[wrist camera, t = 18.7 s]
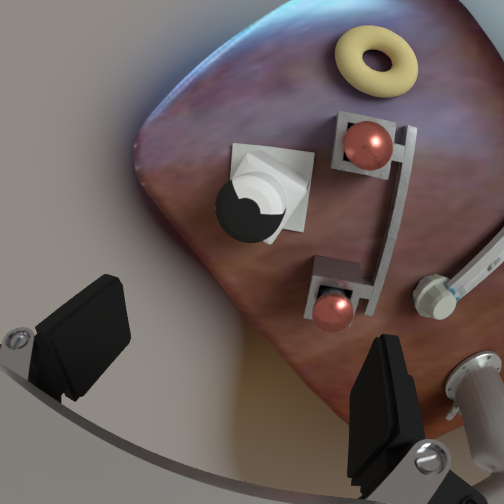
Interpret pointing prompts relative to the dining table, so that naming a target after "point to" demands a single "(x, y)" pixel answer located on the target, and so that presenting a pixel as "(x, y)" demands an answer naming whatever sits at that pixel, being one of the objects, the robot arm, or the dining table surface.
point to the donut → (363, 76)
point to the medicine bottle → (259, 198)
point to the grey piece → (457, 281)
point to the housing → (349, 272)
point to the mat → (291, 158)
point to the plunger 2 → (368, 145)
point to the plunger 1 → (332, 309)
